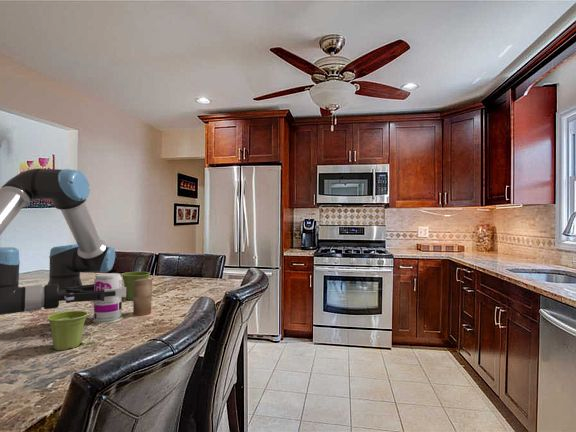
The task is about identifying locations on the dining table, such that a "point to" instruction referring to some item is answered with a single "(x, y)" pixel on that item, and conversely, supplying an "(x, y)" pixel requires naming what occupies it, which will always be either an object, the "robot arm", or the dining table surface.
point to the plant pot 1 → (67, 328)
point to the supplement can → (109, 306)
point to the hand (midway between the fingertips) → (122, 288)
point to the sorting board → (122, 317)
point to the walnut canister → (142, 297)
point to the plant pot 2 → (132, 282)
